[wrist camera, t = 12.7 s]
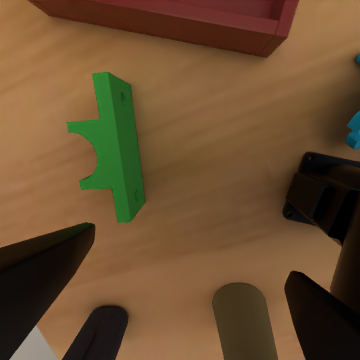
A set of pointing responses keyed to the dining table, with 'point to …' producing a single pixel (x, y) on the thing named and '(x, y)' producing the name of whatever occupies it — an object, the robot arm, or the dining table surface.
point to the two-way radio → (99, 336)
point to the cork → (243, 323)
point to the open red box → (188, 20)
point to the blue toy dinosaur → (354, 127)
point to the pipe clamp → (114, 146)
